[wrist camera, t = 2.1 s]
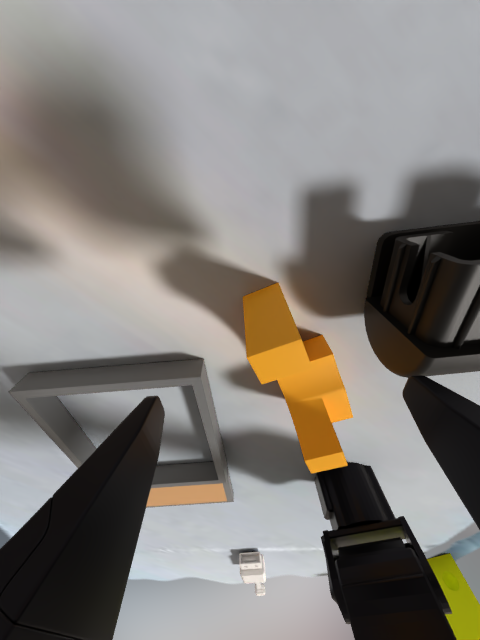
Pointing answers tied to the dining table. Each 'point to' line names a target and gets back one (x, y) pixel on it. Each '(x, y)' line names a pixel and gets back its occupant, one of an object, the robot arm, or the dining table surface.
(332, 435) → the pipe clamp
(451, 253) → the end cap
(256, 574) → the charging cable
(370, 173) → the dining table surface
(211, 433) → the gray rectangular frame
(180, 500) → the lid
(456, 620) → the cheese wedge
